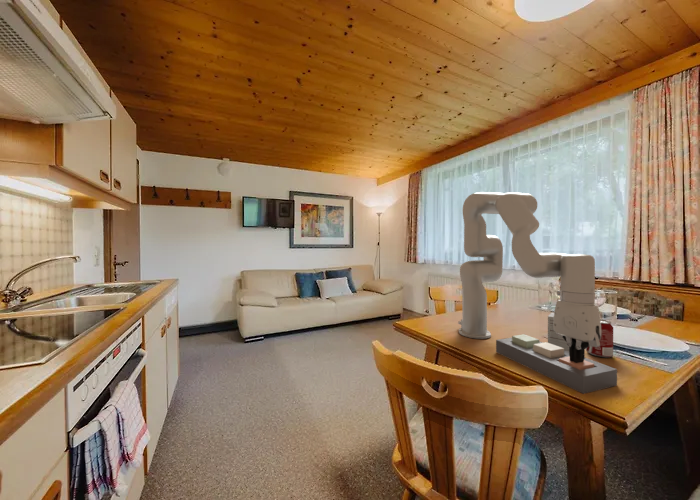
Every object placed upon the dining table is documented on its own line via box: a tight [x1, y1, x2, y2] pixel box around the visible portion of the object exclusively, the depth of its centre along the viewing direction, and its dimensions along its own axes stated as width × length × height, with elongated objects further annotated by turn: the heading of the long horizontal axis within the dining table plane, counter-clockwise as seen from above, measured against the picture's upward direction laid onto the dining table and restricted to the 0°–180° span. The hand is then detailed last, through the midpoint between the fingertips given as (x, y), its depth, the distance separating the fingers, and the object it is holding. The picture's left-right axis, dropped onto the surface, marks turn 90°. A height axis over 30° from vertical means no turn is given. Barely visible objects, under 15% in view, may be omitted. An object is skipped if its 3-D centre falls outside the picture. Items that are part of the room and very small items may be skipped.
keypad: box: [495, 337, 618, 395], centre depth 85 cm, size 28×13×4 cm, turn 17°
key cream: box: [533, 341, 564, 358], centre depth 85 cm, size 6×6×3 cm
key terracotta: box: [559, 356, 594, 370], centre depth 77 cm, size 6×6×3 cm
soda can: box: [585, 318, 614, 359], centre depth 93 cm, size 7×7×12 cm
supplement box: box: [547, 312, 569, 352], centre depth 98 cm, size 7×7×13 cm
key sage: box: [511, 333, 540, 348], centre depth 93 cm, size 6×6×3 cm
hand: (576, 361), depth 77 cm, fingers closed
